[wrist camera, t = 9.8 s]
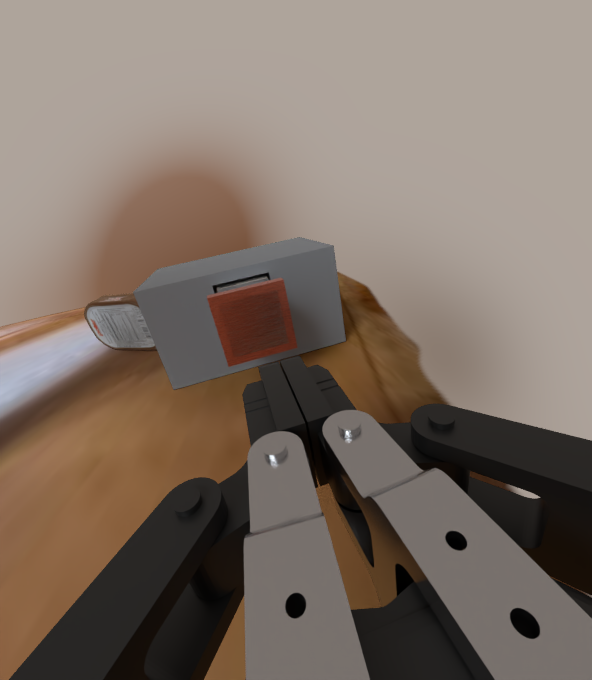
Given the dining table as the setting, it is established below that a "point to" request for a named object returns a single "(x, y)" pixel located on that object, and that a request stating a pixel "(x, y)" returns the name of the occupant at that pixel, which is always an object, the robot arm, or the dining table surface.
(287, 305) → the plug
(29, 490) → the dining table surface
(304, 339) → the socket block
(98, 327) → the tin
